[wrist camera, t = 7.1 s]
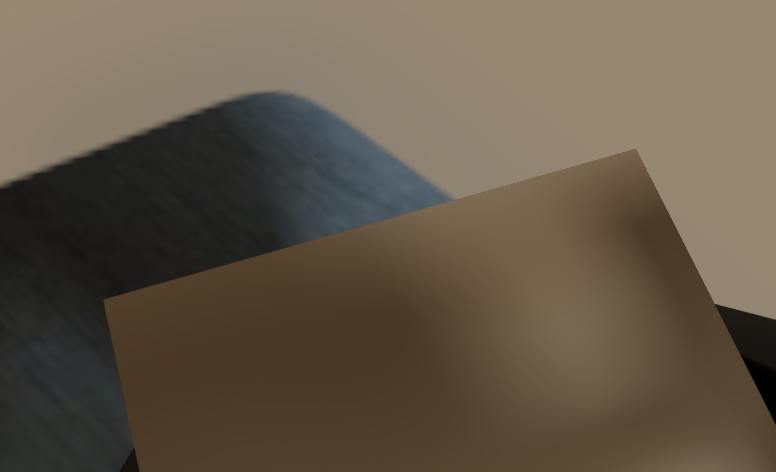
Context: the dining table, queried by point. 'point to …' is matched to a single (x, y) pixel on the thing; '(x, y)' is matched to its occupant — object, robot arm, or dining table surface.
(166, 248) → the dining table surface
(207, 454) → the birch block
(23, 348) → the dining table surface
